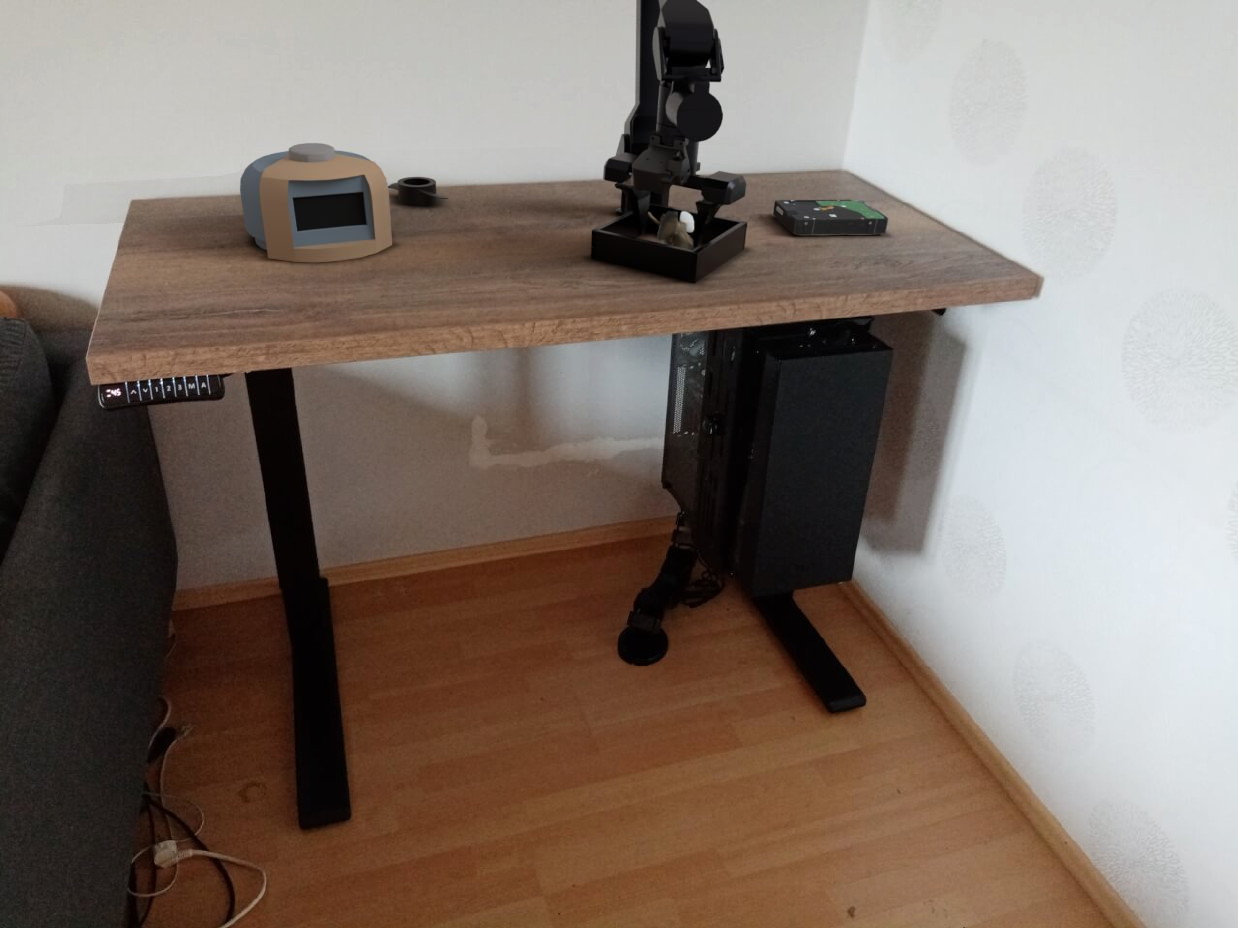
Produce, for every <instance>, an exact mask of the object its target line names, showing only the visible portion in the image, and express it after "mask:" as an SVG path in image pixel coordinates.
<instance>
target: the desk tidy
mask: <svg viewBox="0 0 1238 928" xmlns="http://www.w3.org/2000/svg"><path fill="white" fill-rule="evenodd" d="M668 211H672V212H674V211H675V212H676V211H677V213H678V222H679V220H680V214H681V212H682V211H685V212H688V213H689V214H691V216H692V217H693V220H694V230H695V224H696V217H697V211H694V210H690V209H685V208H680V207H676V206H675V207H674V206H670V205H668V206H665V205H660V204H655V203H650V202H649V211H648V212H650V213H651V214H652V216H653V217H654V218H655V219H657V220H658V221H661V216H662V215H663V213H664V215H665V214H666V213H667V212H668ZM747 229H748V221H744V220H738V219H734V218H729V217H725V216H720V215H715V216H714V218H713V220H712V222H711V223H710V225H709V227H708V229H707V231H706V233H705V235H704V237H703V239H702V241H701V243H703V245H702V246H699V248H697V250H695V251H694V250H689V249H685V248H680V247H676V246H673V245H667V244H662V243H661V242H658V241H653V240H648V239H643V238H639V237H642V236H641V235H639V233H638V230H637V226H636V223H635V219H634V215H633V212H632V211H630V212H628V213H626V214H624V215H620V216H618V217H616V218H613V219H612V220H610V221H608V222H605V223H603V224H602V225H599V226H597V227H595V228H593V229H592V230H591V236H590V237H591V241H590V260H594V261H598V262H603V263H607V264H610V265H615V266H620V267H624V268H628V269H633V270H637V271H641V272H645V273H649V274H653V275H657V276H663V277H667V278H671V279H675V280H680V281H683V282H689V283H693V284H696V283H697V282H699V281H700V280H702V279H703V278H705V277H706V276H707V275H709V274H711V273H712V272H714V271H715V270H717V269H718V268H719V267H721V266H723V265H724V264H725V263H727V262H728V261H730V260H732V259H733V258H734V257H736V256H737V255H739V254H740V253H741V252H743V251H745V247H746V238H747ZM658 230H659V226H658V225H657V224H655V223H654V222H652V221H651V220H650V218H649V216H648V220H647V226H646V230H645V234H647V233H648V232H651V233H655V234H657V232H658ZM686 233H687V234H688V235H689V236H690V237H691V238H692V239H693V236H694V231H693V232H686Z"/></svg>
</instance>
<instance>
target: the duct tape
mask: <svg viewBox="0 0 1238 928" xmlns="http://www.w3.org/2000/svg"><path fill="white" fill-rule="evenodd" d="M388 189H390V190H391V189H392V190H396V191H397V196H398V202H399V204H402V205H404V206H409V207H425V206H432V205H435V204H436V203H437V201H438V199H441V200H449V198H448V197H446V196H442V195H440V194H437V181H436V180H435V179H434V178H431V177H425V176H407V177H403V178H399V179H398V180H397V182H392V183H391V184H389V185H388Z"/></svg>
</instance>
